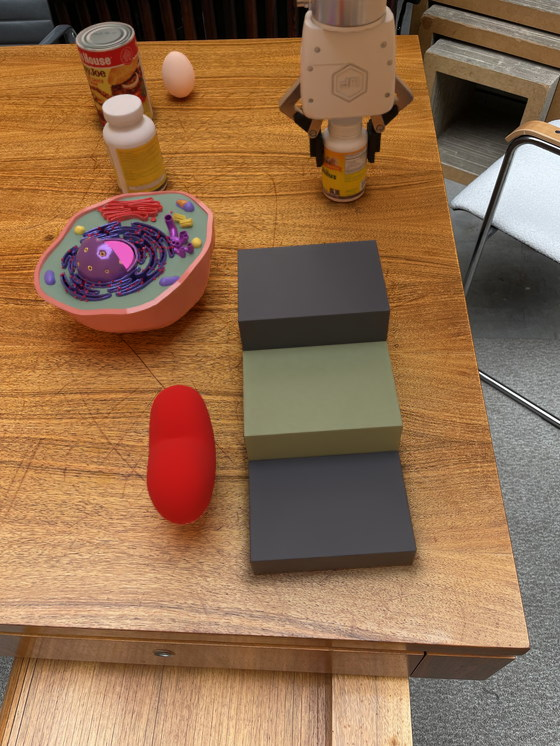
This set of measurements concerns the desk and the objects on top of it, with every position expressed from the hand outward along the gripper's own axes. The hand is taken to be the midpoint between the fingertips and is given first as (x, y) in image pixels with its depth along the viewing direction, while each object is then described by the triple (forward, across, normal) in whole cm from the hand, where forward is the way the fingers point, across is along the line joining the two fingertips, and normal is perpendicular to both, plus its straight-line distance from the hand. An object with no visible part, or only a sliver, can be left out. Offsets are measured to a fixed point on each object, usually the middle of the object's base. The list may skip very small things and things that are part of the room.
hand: (344, 157), depth 77 cm
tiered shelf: (+5, -6, -36) cm, 36 cm away
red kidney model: (+5, -18, -41) cm, 45 cm away
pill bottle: (+5, -26, +4) cm, 27 cm away
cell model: (+5, -24, -17) cm, 30 cm away
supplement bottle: (+5, 0, 0) cm, 5 cm away
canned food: (+5, -30, +21) cm, 37 cm away
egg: (+5, -22, +26) cm, 34 cm away
